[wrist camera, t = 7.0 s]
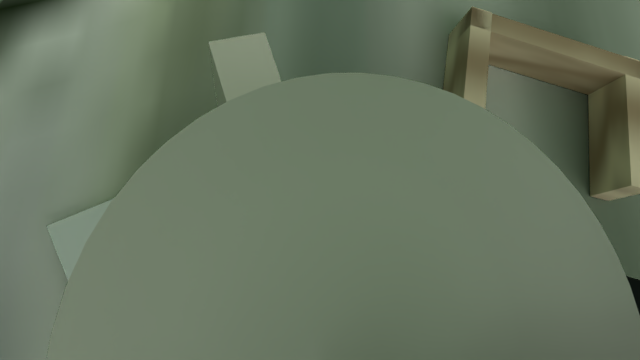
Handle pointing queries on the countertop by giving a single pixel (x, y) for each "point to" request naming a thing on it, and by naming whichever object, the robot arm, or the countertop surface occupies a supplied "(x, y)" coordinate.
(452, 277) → the pale grey rounded piece
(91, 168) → the countertop surface
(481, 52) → the holder
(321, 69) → the countertop surface
